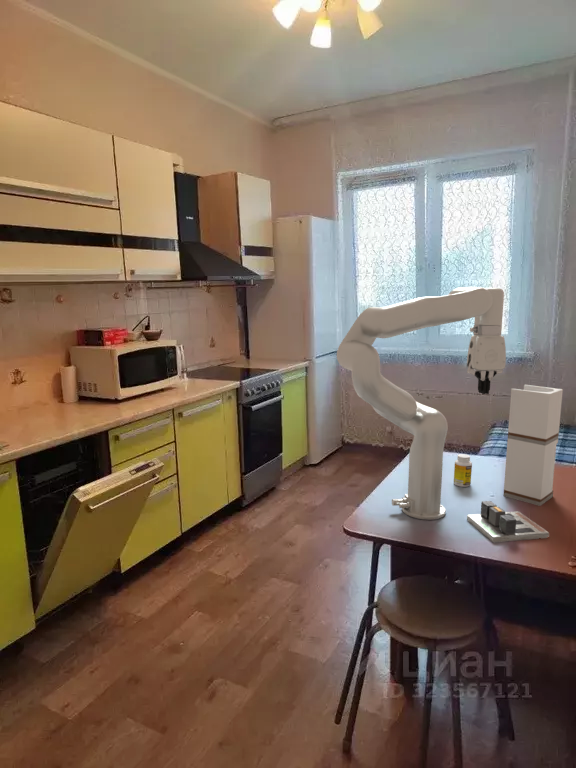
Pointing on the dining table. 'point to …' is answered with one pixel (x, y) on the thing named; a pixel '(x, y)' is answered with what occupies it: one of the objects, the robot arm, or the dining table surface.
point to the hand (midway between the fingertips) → (483, 393)
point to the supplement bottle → (462, 471)
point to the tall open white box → (532, 443)
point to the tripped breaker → (495, 515)
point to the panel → (508, 537)
